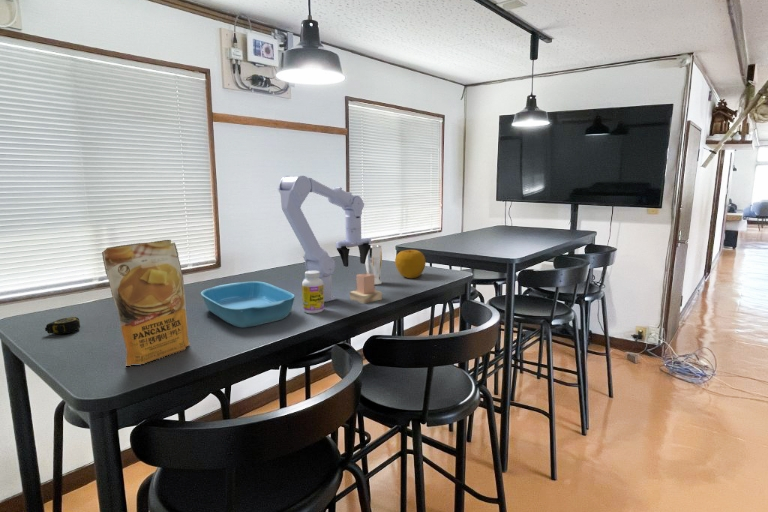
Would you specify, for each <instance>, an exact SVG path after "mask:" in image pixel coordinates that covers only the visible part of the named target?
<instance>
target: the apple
mask: <svg viewBox="0 0 768 512" xmlns="http://www.w3.org/2000/svg"><path fill="white" fill-rule="evenodd" d="M394 261H395V262H394V265H395V268H396V270H397V271H398V273H399V274H400V275H401V276H402V277H404V278H407V279H416V278H419V277H420V276H421V275H422V273H423V272H424V270H425V267H426V263H427V262H426V257H425V255H424V253H423V252H421V251H420V250H417V249H404V250H400V251H399V252H398V253H397V254H396V256H395V259H394Z"/></svg>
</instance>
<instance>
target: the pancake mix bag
mask: <svg viewBox="0 0 768 512" xmlns="http://www.w3.org/2000/svg"><path fill="white" fill-rule="evenodd" d="M101 254H102V260H103V265H104V270H105V274H106V276H107V280H108V283H109V287H110V292H111V295H112V297H111V298H112V299H113V303H114V306H115V308H116V312H117V314H118V317H119V318H118V319H119V325H120V331H121V332H120V333H121V335H122V338H123V340H124V345H125V349H126V351H125V352H126V353H125V356H126V357H125V364H124V365H125V366H124V367H125V368H127V367H126V366H129V365H132V364H143V363H147V362H150V361H153V360H156V359H159V358H162V357H164V358H166V357H165V356H167V357H169V356H172V355H171V354H173V355H175V354H174V353H176V354H178V353H181V352H183V351H185V349H186V348H187V347H188V346H190V345H191V344H190V341H189V338H188V318H187V309H186V308H187V307H186V303H187V302H186V290H185V284H184V283H185V282H184V276H183V270H182V266H181V262H180V257H179V251H178V248H177V245H176V242H172V239H162V240H156V241H151V242H150V241H149V242H137V243H135V242H134V243H130V244H129V243H128V244H124V245H123V244H122V245H117V246H112V247H111V246H110V247H107V248H106V249H104V250H103V251H102V252H101ZM186 350H187V349H186ZM180 351H181V352H180ZM177 352H178V353H177ZM168 355H169V356H168ZM162 359H163V358H162ZM159 360H160V359H159ZM156 361H157V360H156ZM153 362H154V361H153ZM150 363H151V362H150ZM147 364H148V363H147Z"/></svg>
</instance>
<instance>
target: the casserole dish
mask: <svg viewBox="0 0 768 512" xmlns="http://www.w3.org/2000/svg"><path fill="white" fill-rule="evenodd" d="M200 295H201V297H202V299H203V302H204V304H205V306H206V308H207V309H208V310H209V312H211V314H213V315H215V316H216V317H218V318H219V319H221V320H223V321H225V322H226V323H228V324H230V325H232V326H234V327H237V328H249V327H255V326H260V325H265V324H267V323H268V324H269V323H272V322H276V321H281V320H284V319H285V318H286V317H287V316H288V315H290V313H291V311H292V308H293V305H294V302H295V301H294V300H295V297H296V296H295V294H294V293H292V292H291V291H288V290H286V289H284V288H280V287H278V286H275V285H273V284H271V283H267V282H263V281H260V280H259V281H255V280H254V281H253V280H252V281H242V282H232V283H228V284H227V283H226V284H220V285H216V286H213V287H209V288H206V289H203V290H202V291H201V292H200Z"/></svg>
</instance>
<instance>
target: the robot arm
mask: <svg viewBox="0 0 768 512" xmlns="http://www.w3.org/2000/svg"><path fill="white" fill-rule="evenodd" d="M277 191H278V192H279V194H280V202H281V205H280V206H281V210H282V212H283V215H284V216H285V218H286V221H288V223H289V225H290V227H291V229H292V231H293V233H294V234H295V237H296V238H297V240H298V242H299V243H300V246H301V248H302V249H303V251H304V254H303V256H302V257H303V260H304V266H305V268H306V271H313V270H315V271H319V272H320V276H319V279H321V280H322V281H323V292H324V303H325V302H329V301H330V302H331V301H334V300H338V298H337V297H336V296H334V295H333V296H332V275H333V273H334V271H335V268H336V262H335V260H334V258H333V257H331V256H330V255H329V254H328V252H327V251H326V250H325V249H323V248H322V247H321V246H320V243H319V241H318V240H317V238H316V236H315V233H314V232H313V230H312V228H311V226H310V224H309V222H308V220H307V218H306V217H305V214H304V212H303V210H302V208H301V207H302V204H303V203H304V201H305V200H306V199H307V197H308V196H309V194H310V193H313V194H317V195H320V196H321V197H325V198H327V201H328V202H329V203H330V204H332V205H334V206H338V207H340V208H341V209H342V210H343V211H344V220H345V222H344V223H345V224H344V225H345V240H339V241H336V242H335V249H336V251H337V252H338V253H339V256H340V258H341V262H342V264H343V267H346V268H347V267H349V257H350V256H349V254H350V248H348V247H352V246H357V247H358V251H359V262H360V264H361V265H362V264H363V265H365V261H366V257H367V254H368V251H369V249H370V248H371V245H372V238H371V237H368V238H367V237H365V238H364V237H363V238H362V215H363V209H364V207H365V203H364V200H363V199H362V197H361V196H359V195H353V194H352V192H350V191H346V190H343V187H340V186H337V187H336V186H335V187H333V188H331V187H329V186H327V185H325V184H322V183H320V182H319V181H317V180H315V179H313V178H311V177H308V176H306V175H300V176H295V175H293V176H290V175H285V176H283V177H282V178H281V179H280V181H279V184H278V187H277ZM305 279H306V277H304V278H303V280H302V282H303V281H304V280H305ZM302 301H303V297H302Z"/></svg>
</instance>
